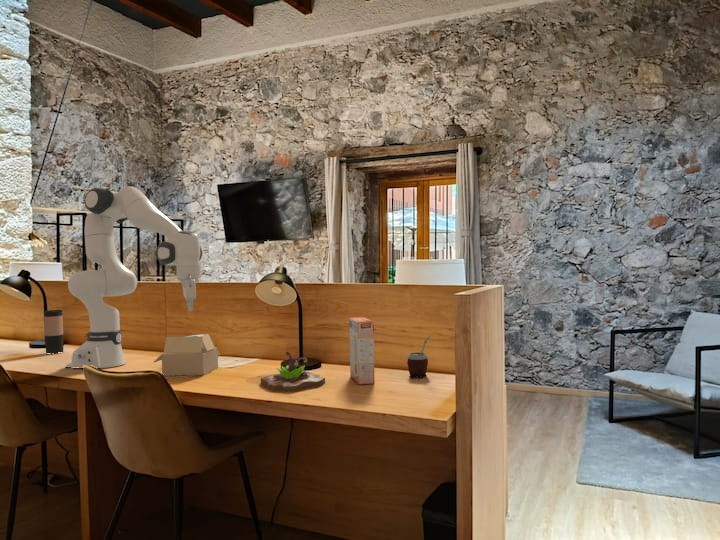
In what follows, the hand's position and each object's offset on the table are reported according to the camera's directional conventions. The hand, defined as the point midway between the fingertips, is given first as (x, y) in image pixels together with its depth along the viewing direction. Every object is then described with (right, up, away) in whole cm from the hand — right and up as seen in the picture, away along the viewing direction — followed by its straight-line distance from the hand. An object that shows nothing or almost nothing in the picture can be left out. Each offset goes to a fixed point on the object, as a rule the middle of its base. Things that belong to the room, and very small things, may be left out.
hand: (190, 310), depth 212 cm
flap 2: (+8, -15, -2) cm, 17 cm away
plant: (+41, -23, -25) cm, 54 cm away
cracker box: (+65, -22, -22) cm, 72 cm away
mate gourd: (+85, -22, -18) cm, 89 cm away
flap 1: (-1, -15, -8) cm, 17 cm away
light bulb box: (-4, -23, +20) cm, 31 cm away
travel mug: (-79, -24, +51) cm, 97 cm away
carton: (-2, -23, +2) cm, 23 cm away
